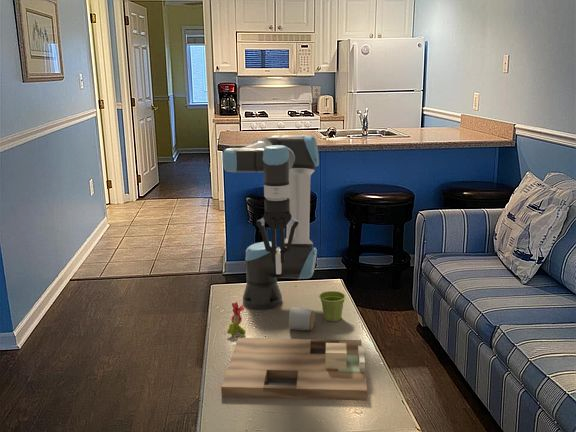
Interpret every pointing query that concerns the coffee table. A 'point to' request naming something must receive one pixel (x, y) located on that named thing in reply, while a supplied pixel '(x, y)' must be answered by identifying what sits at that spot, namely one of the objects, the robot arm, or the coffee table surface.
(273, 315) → the coffee table surface
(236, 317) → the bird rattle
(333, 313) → the plant pot
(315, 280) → the coffee table surface
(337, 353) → the maple block
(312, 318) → the ceramic mug
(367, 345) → the coffee table surface
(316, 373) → the board
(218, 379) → the coffee table surface
